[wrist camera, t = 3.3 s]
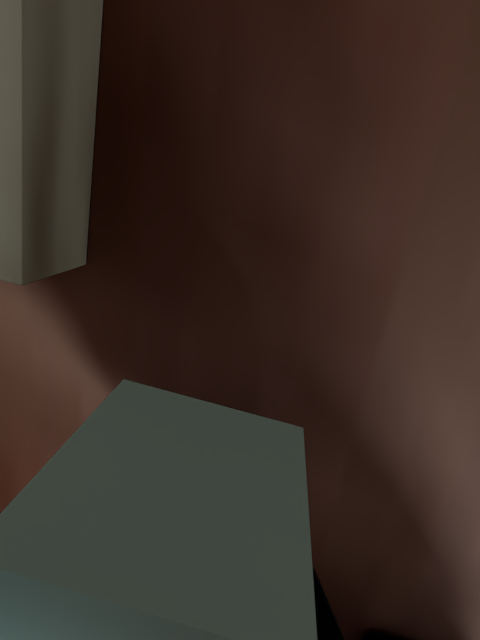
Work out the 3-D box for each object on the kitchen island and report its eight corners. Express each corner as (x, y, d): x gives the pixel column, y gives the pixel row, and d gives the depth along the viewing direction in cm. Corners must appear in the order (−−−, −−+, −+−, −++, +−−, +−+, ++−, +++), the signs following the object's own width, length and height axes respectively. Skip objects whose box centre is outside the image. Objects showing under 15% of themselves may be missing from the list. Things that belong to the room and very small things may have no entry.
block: (303, 427, 9) (319, 665, 4) (258, 555, 11) (236, 822, 6) (123, 378, 9) (-40, 557, 5) (107, 511, 11) (-23, 738, 6)
